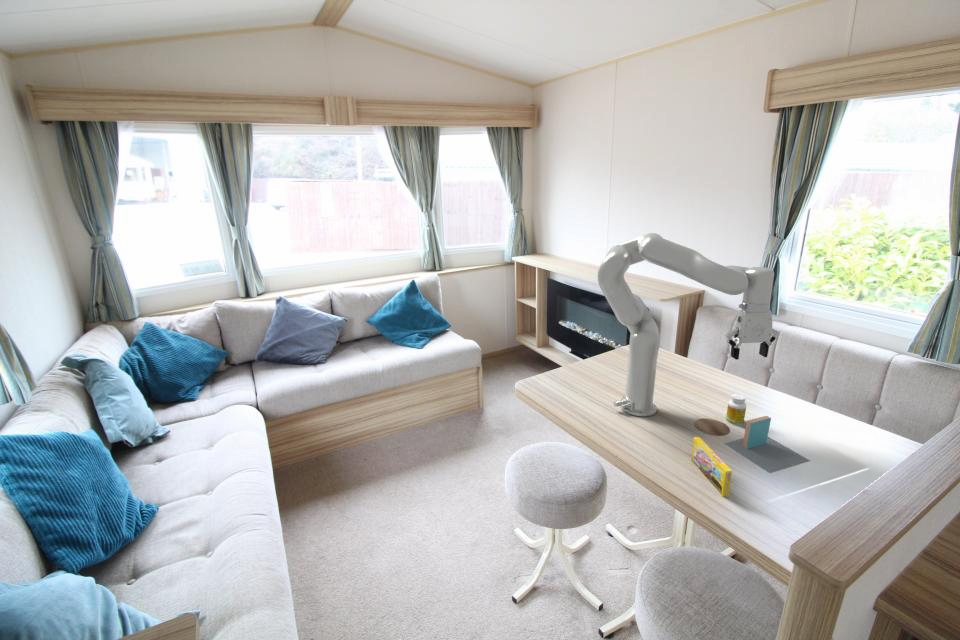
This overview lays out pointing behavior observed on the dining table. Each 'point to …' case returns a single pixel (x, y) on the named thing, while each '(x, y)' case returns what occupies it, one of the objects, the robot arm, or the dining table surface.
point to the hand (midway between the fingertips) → (748, 356)
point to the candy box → (711, 466)
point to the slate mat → (769, 455)
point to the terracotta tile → (756, 432)
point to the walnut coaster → (711, 427)
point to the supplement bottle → (736, 410)
